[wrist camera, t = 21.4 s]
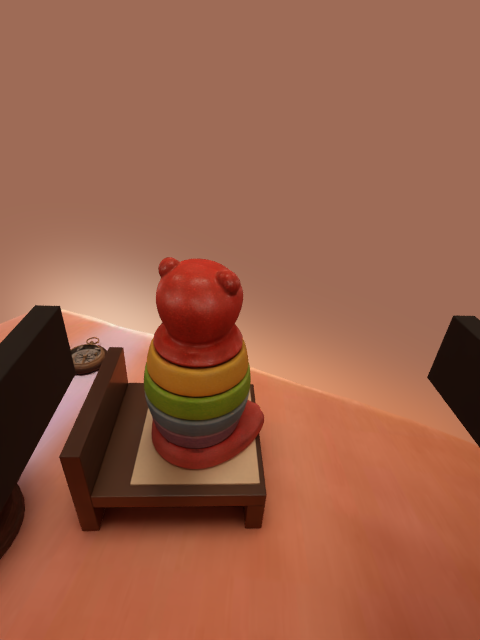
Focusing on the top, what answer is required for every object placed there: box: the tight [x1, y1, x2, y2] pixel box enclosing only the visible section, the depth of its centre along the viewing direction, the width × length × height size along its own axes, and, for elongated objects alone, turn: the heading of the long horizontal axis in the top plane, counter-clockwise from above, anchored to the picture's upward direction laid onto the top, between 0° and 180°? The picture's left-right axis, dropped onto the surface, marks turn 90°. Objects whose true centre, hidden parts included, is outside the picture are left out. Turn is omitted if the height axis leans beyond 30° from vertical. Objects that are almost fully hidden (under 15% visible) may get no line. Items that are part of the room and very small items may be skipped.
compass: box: [71, 337, 107, 374], centre depth 50 cm, size 8×8×7 cm
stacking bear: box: [144, 257, 264, 469], centre depth 31 cm, size 11×10×18 cm
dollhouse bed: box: [59, 347, 266, 531], centre depth 36 cm, size 16×14×10 cm
